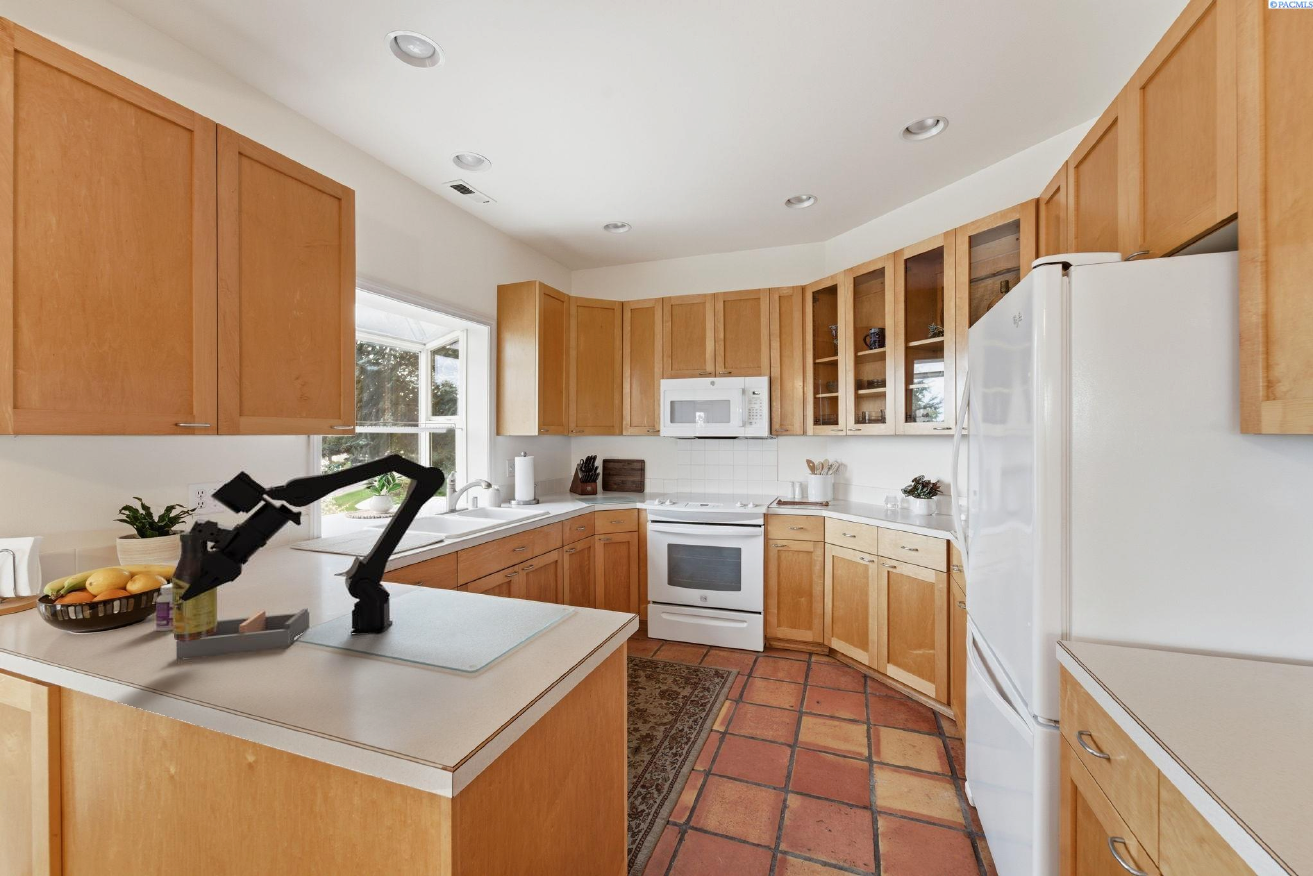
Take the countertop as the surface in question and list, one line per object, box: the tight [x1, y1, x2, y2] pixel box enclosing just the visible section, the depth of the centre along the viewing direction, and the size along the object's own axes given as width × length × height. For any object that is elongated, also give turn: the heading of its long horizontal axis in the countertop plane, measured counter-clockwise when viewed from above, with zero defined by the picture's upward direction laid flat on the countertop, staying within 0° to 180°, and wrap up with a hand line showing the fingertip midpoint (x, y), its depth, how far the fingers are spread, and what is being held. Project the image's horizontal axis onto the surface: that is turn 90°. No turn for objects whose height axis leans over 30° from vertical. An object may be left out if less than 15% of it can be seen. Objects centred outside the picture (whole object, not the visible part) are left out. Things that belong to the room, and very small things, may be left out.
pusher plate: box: [239, 610, 267, 634], centre depth 108 cm, size 1×9×4 cm, turn 17°
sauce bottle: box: [171, 530, 218, 642], centre depth 97 cm, size 7×6×20 cm
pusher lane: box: [175, 608, 310, 660], centre depth 107 cm, size 18×12×4 cm, turn 107°
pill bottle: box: [155, 583, 173, 632], centre depth 117 cm, size 5×5×10 cm
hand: (185, 595), depth 96 cm, fingers closed on sauce bottle, 6 cm apart
